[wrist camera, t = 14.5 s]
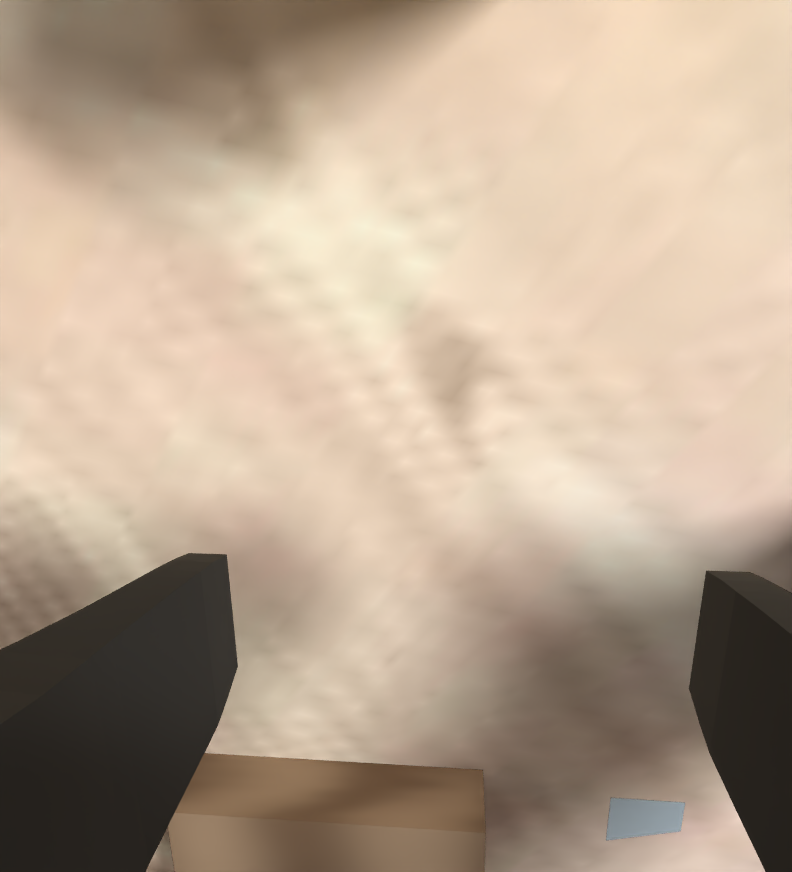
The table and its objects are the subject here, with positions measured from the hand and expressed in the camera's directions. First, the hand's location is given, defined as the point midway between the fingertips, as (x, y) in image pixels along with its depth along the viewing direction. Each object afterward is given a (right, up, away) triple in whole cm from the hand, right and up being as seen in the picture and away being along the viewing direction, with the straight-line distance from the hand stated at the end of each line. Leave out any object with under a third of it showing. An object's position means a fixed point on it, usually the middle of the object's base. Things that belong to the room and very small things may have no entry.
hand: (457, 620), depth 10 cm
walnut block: (-3, -13, +15) cm, 20 cm away
